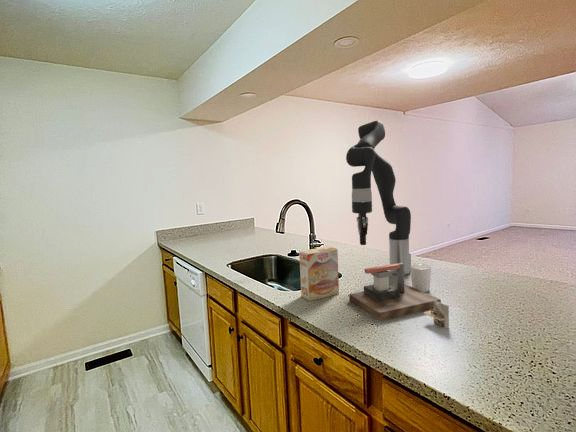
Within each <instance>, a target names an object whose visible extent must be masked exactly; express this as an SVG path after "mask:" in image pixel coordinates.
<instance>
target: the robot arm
mask: <svg viewBox="0 0 576 432" xmlns="http://www.w3.org/2000/svg"><path fill="white" fill-rule="evenodd" d="M357 130H358V131H357V132H358V137H359V141H358V142H357V143H356V144H355V145H352V146H350V148H349V149H348V151H346V156H345V160H346V161H345V162H346V163H347V164H348V165H349V167H353V168H355V167H364V169H363V170H362V171H359V172H356V173H353V174H352V176H351V210H352V211H351V212H352V213H353V214H357V215H358V216H357V217H356V222H357V229H358V235H359V245H360V246H365V245H367V235H368V229H369V228H368V226H369V217H368V216H367V214H371V213H372V212H373V195H372V194H373V192H372V181H371V178H372V176H373V179H374V182H375V185H376V188H377V190H378V193H379V197H380V200H381V206H382V210H383V214H384V217H385V220H386V221H387V223H389V224H391V225H395V230H392V231H390V232H389V234H388V245H389V247H388V249H389V251H388V253H389V254H388V255H389V265H391V264H397V263H404V276H405V275H409V274H411V265H412V257H411V256H412V254H411V253H410V234H411V221H412V217H411V216H412V215H411V214H412V213H411V211H410V208H409V207H407V206H404V205H397V204H396V201H395V197H394V190H395V187H396V175H395V172H394V169H393V166H392V165H391V164H390V163H389V162H388V161H387V160H386V159H385V158H383V157H382V156H381V155H379V153H378V152H377V151H376V150H375V149H376V147H377V146H378V145H379V144H380V142H381V141H383V140H384V139H385V137H386V131H385V126H384V124H383V122H382V121H381V120H373V121H371V122H367V123H366V124H362V125H360V126H359V127H358V128H357ZM389 271H390V272H391V275H392V274H393V275H395V276H397V269H393V270H389Z"/></svg>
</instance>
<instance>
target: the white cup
mask: <svg viewBox="0 0 576 432" xmlns="http://www.w3.org/2000/svg"><path fill="white" fill-rule="evenodd" d="M431 271H432V266H431V265H429V264H425V263H424V264H422V263H414V264H413V263H412V264H411V272H410V278H411V285H412V286H411V287H412V288H415V289H417V290H420V291H422V292H424V293H427V292H429V291H430V290H431V289H430V288H431V278H432V277H431V275H432V272H431Z"/></svg>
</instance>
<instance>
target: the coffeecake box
mask: <svg viewBox="0 0 576 432" xmlns="http://www.w3.org/2000/svg"><path fill="white" fill-rule="evenodd" d="M298 253H299V255H298V257H299V271H300V272H299V273H300V275H299V276H300V293H301V294H300V295H301V298H303V299H306V300H307V301H308V302H312V301H315V300H318V299H319V300H320V299H324V298H327V297H331V296H335V295H339V293H340V289H339V288H340V285H339V282H340V281H339V257H338V256H339V255H338V253H339V252H338V248H336V247H333V246H332V247H331V246H329V245H328V246H324V247H316V248H312V249H305V250H299V252H298Z"/></svg>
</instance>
